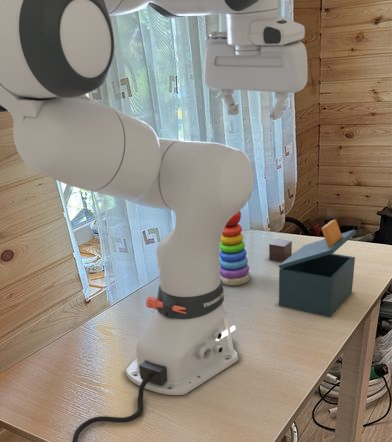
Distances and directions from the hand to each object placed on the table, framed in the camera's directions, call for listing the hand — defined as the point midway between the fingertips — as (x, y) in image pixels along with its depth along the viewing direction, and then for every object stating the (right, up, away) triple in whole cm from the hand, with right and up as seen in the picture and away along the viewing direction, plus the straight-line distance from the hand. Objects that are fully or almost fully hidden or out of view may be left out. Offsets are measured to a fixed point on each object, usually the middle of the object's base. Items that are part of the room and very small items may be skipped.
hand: (253, 116), depth 97 cm
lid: (+15, -23, +13) cm, 30 cm away
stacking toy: (-1, -27, +31) cm, 41 cm away
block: (+12, -20, +40) cm, 46 cm away
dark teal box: (+16, -33, +19) cm, 41 cm away
